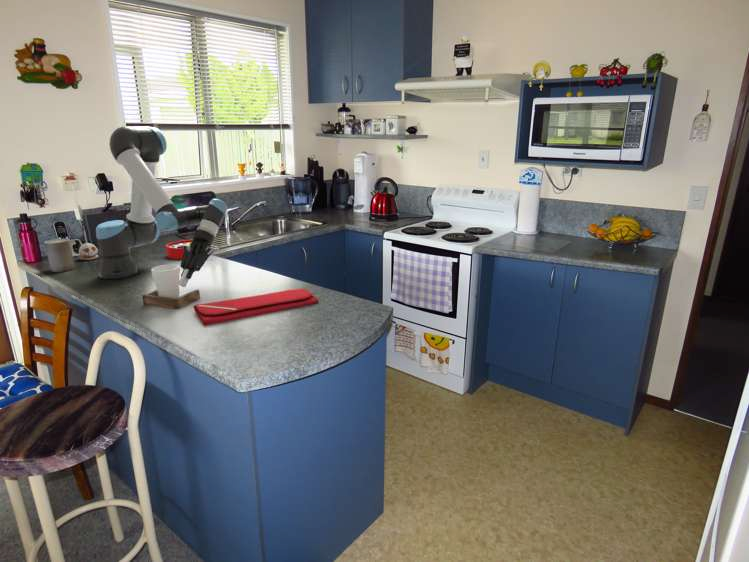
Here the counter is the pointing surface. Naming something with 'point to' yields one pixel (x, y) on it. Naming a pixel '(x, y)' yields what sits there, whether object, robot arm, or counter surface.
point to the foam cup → (167, 280)
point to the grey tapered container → (59, 255)
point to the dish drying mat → (253, 306)
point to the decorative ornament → (88, 250)
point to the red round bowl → (177, 248)
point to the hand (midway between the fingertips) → (181, 285)
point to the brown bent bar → (170, 299)
